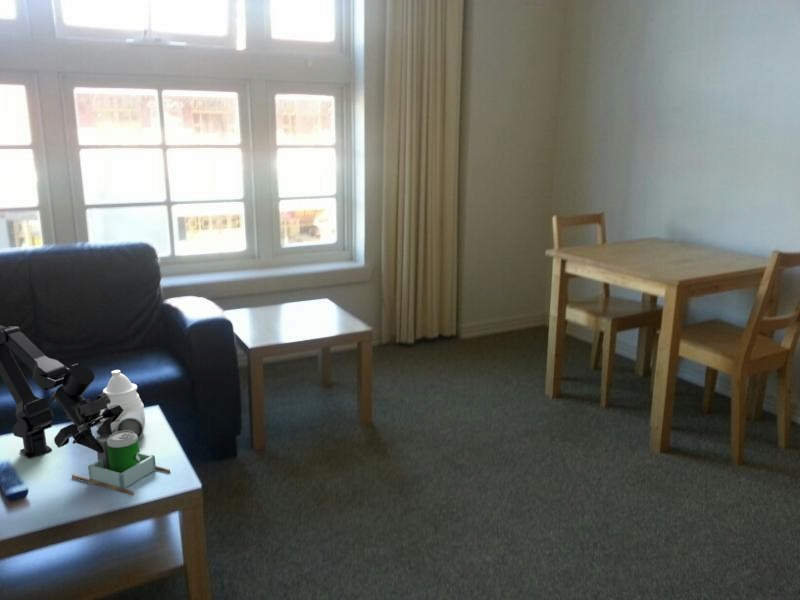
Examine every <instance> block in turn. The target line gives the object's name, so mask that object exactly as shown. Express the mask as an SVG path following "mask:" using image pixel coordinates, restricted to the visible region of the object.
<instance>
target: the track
mask: <svg viewBox="0 0 800 600" xmlns="http://www.w3.org/2000/svg"><path fill="white" fill-rule="evenodd" d="M155 471H161V472H164V473H168V474H170V473H171V469H170V468H167V467H166V468H165V467H163V466H158V465H156V470H155ZM71 478H72V479H74V478H75V479H74V480H78V479H80V480H79V481H81V480H83V481H82V482H84V481H86V482H85V483H88V482H90V483H89V484H91V483H93V484H92V485H95V484H97V485H96V486H98V485H100V486H99V487H102V486H103V487H102V488H105V487H107V488H106V489H109V488H110V489H109V490H112V489H113V491H116V492H119V491H120V492H119V493H122V492H123V493H122V494H126V493H127V495H130V496H134V495H135V492H134V491H132V490H130V489H126V488H124V489H123V488H119V487H116V486H112V485H109V484H105V483H102V482H98V481H95V480H91V479H90V478H88V477H84V476H81V475H76V474H71Z"/></svg>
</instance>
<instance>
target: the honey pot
mask: <svg viewBox="0 0 800 600" xmlns="http://www.w3.org/2000/svg"><path fill="white" fill-rule="evenodd" d="M111 375H112V376H111V378H110V379H109V381H108V383H107V386H106V387H105V388H103V390H102V394H103V393H106V395H107V396H108V397H109V399H110V403H109V404H107V407H108V408H109V407H111V406H113V405H115V404H117V405H120V406H121V407H122V409H123V410H124V411H123V412H122V413H121V415H120V416H119V417H118V418H117V419H116V420H115V421H114V422H112V423H111V431H112V430H114V429H116V427H117V424H118V422H119V420H120V418H121V417H122V415H123V414H125V413H127V412H129V411H136V412H139V413H140V414H141V415H142V416H143V418H144V421H145V422H146V415H145V414H146V413H145V405H144V403H143V402H142V399H141V398H140V394H139V393H138V392H137V390H138V385H137V384H135V383H132V382H131V381H130V379H129V378H128V377H127V376H126V375H125V374H123V373H121V370H120V369H115V370H112V371H111ZM105 410H106V409H102V410H100V411H101V413H100V414H99V416H101V415H102V413H103V412H104V411H105Z"/></svg>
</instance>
